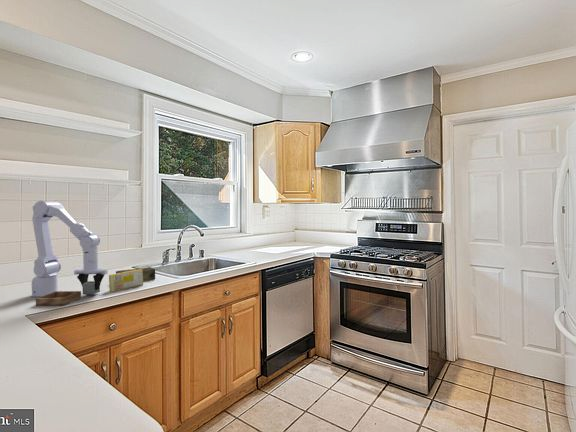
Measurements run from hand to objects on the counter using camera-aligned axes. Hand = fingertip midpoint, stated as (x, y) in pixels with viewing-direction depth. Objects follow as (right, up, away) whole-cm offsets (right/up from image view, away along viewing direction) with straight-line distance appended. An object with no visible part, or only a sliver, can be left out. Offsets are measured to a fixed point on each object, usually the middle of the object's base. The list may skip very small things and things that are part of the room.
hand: (91, 289), depth 152 cm
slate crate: (0, -2, 0) cm, 2 cm away
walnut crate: (-8, -3, -10) cm, 13 cm away
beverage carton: (+7, -2, +29) cm, 30 cm away
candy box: (+10, -2, +13) cm, 17 cm away
